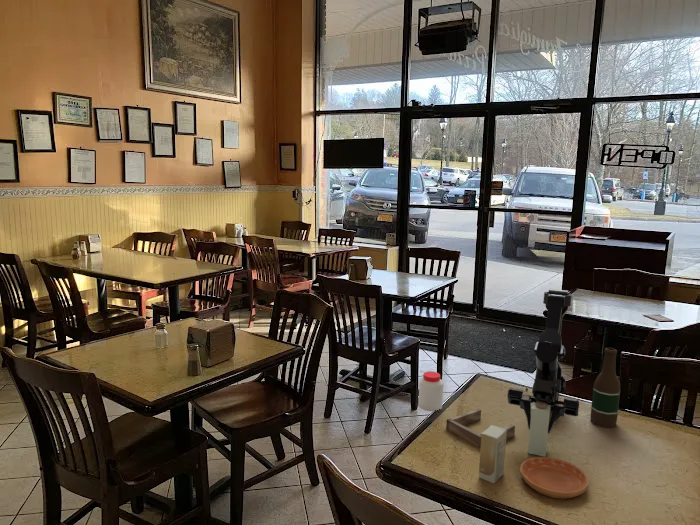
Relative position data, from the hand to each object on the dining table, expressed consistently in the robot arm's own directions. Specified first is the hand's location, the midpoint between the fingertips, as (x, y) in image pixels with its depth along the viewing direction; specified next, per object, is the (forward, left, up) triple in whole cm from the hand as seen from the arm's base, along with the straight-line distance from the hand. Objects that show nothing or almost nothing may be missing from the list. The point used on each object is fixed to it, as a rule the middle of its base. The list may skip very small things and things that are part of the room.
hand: (538, 430), depth 146 cm
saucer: (+7, +12, -7) cm, 16 cm away
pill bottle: (+9, -38, -7) cm, 39 cm away
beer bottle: (-34, -6, -7) cm, 35 cm away
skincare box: (+19, +3, -7) cm, 21 cm away
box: (+6, -17, -7) cm, 19 cm away
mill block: (-1, -1, -7) cm, 7 cm away
